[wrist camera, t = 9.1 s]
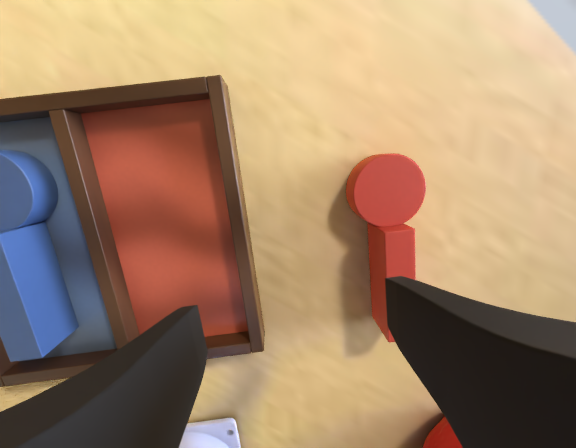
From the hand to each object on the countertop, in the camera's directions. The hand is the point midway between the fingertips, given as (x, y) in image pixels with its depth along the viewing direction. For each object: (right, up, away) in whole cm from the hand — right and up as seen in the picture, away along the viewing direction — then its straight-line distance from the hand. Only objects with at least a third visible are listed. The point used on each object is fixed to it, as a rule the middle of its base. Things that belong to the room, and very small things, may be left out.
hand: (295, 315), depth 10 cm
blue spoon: (-16, +3, +6) cm, 17 cm away
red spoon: (+6, +3, +8) cm, 11 cm away
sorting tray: (-12, +3, +8) cm, 14 cm away
